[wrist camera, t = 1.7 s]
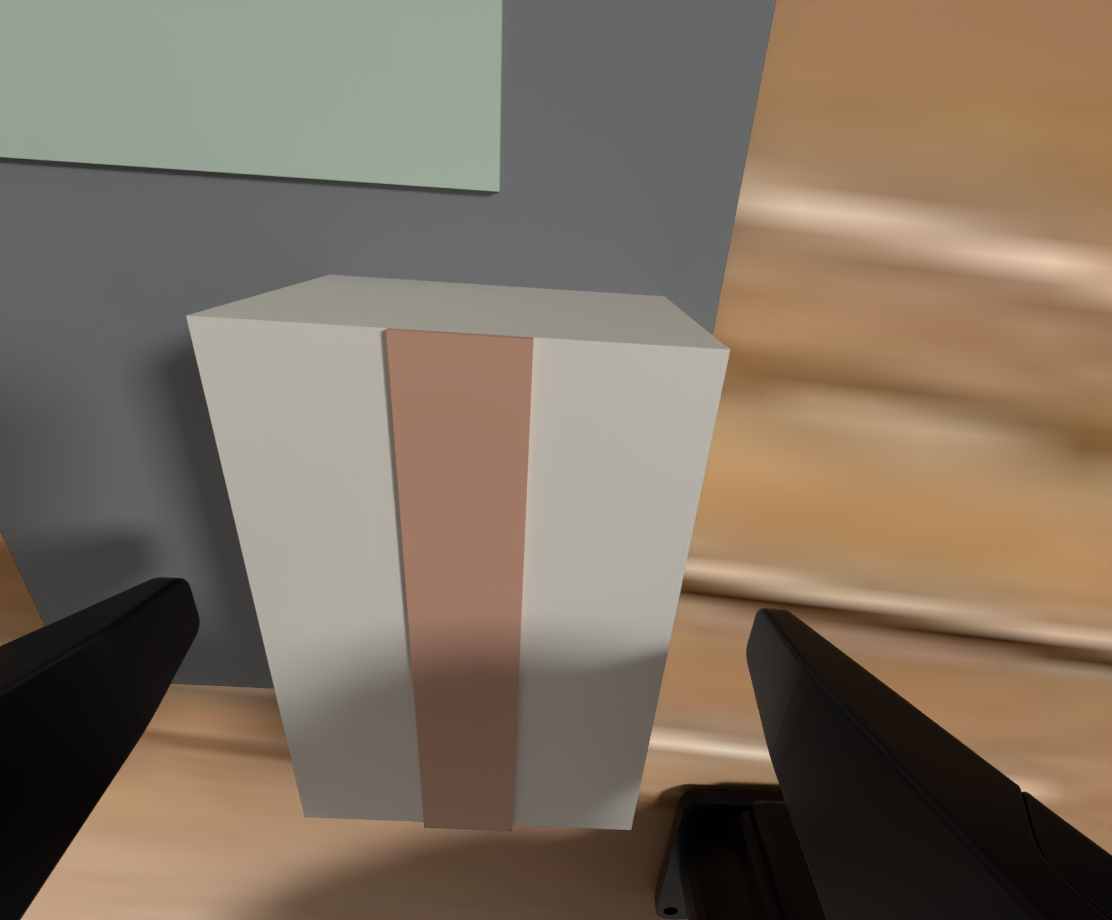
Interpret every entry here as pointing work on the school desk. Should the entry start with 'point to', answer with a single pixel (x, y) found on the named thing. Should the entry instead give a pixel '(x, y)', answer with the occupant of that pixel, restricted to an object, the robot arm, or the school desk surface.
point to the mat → (312, 224)
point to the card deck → (463, 535)
